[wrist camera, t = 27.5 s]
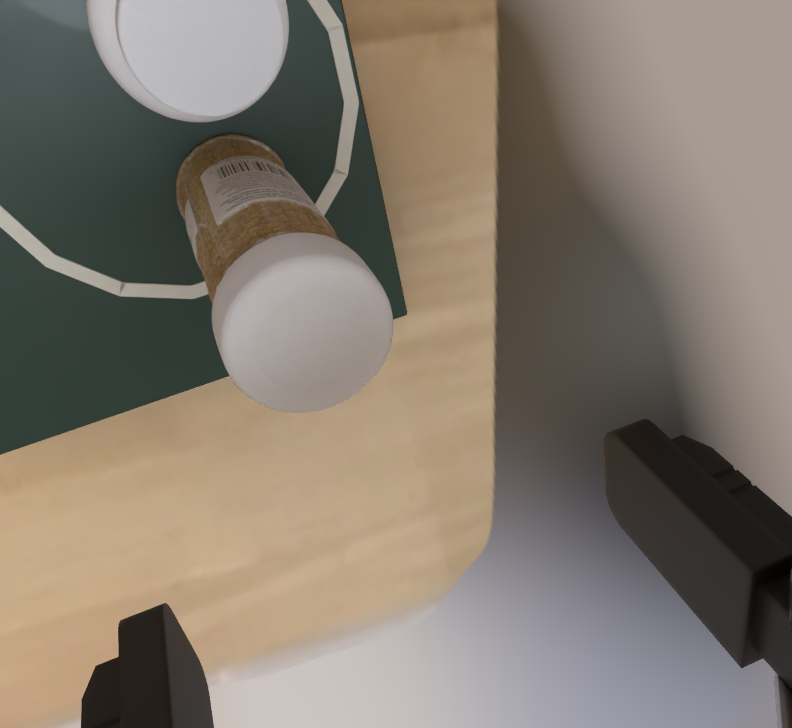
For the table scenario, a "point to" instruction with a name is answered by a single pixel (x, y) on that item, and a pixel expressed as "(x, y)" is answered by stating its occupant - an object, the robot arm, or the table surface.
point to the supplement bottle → (191, 52)
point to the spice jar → (279, 280)
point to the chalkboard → (144, 213)
